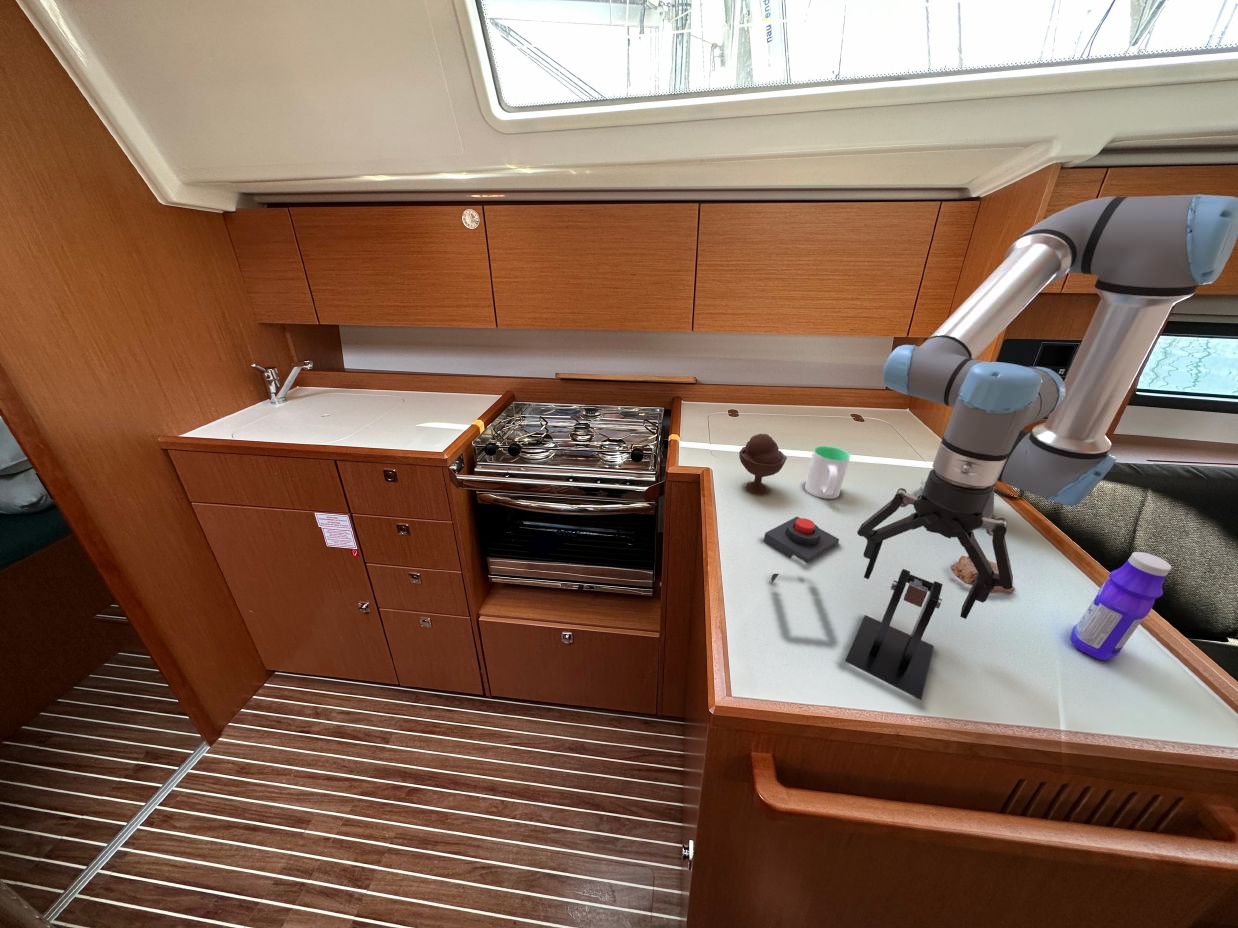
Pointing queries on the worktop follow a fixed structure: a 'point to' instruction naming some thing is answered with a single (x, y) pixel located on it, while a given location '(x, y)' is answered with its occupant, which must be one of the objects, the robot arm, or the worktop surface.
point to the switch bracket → (896, 644)
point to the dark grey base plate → (799, 541)
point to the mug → (827, 471)
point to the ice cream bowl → (761, 460)
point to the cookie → (973, 573)
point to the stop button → (804, 526)
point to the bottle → (1120, 606)
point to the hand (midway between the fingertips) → (913, 592)
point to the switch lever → (917, 590)
